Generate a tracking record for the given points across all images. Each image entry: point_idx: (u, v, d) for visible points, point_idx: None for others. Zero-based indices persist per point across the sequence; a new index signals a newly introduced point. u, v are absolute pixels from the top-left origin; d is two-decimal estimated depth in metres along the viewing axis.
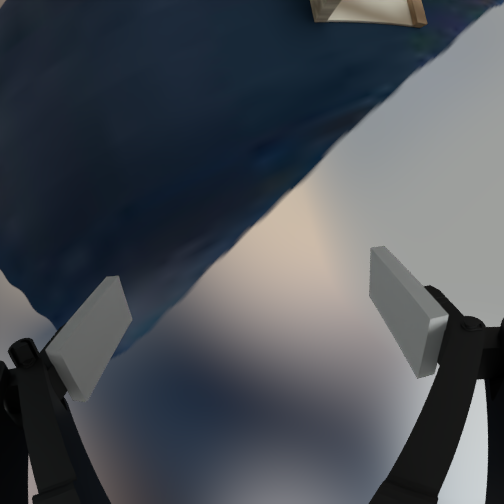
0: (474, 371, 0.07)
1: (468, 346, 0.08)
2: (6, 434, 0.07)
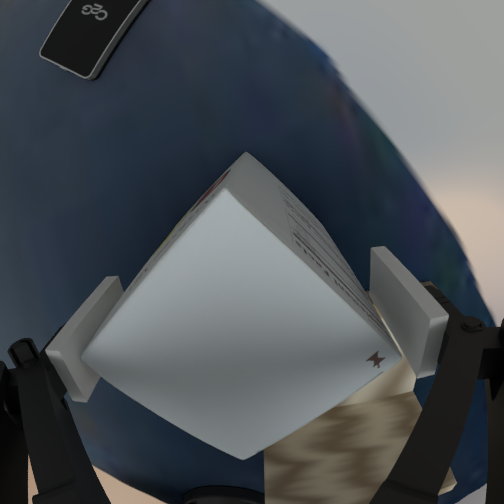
0: (474, 371, 0.07)
1: (468, 347, 0.08)
2: (6, 434, 0.07)
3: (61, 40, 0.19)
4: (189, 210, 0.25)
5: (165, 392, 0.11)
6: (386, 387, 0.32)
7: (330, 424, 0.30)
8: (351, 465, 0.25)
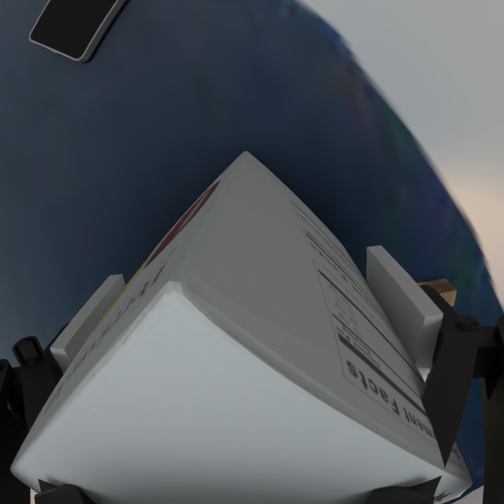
0: (469, 370, 0.07)
1: (463, 346, 0.08)
2: (9, 433, 0.07)
3: (51, 23, 0.16)
4: None
5: None
6: None
7: None
8: None
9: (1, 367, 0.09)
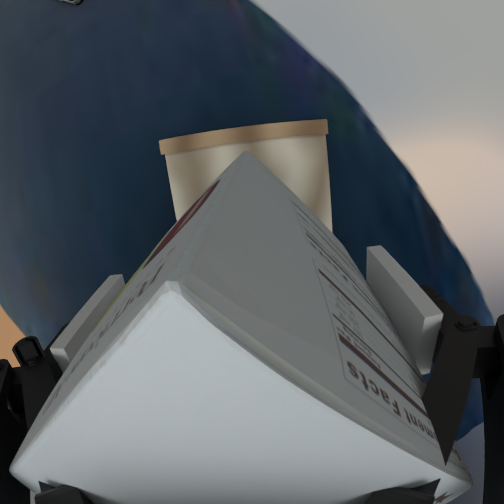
0: (469, 370, 0.07)
1: (463, 346, 0.08)
2: (9, 433, 0.07)
3: None
4: (171, 228, 0.19)
5: None
6: None
7: None
8: None
9: (1, 367, 0.09)
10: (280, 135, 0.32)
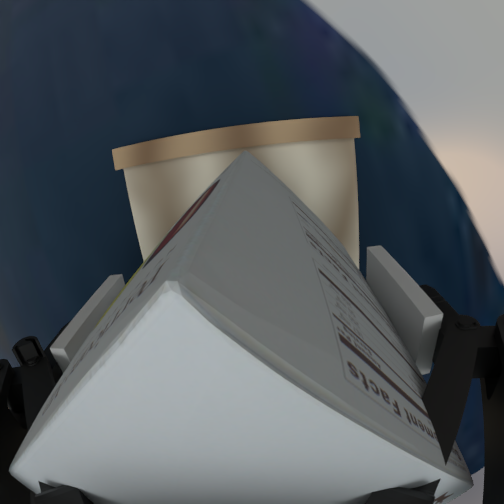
0: (469, 370, 0.07)
1: (462, 345, 0.08)
2: (9, 433, 0.07)
3: None
4: (171, 228, 0.19)
5: None
6: None
7: None
8: None
9: (1, 367, 0.09)
10: (289, 139, 0.21)
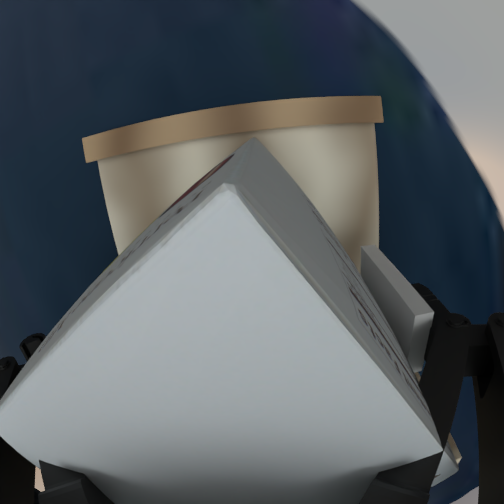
0: (460, 367, 0.07)
1: (453, 343, 0.08)
2: None
3: None
4: None
5: (106, 493, 0.06)
6: None
7: None
8: None
9: (8, 364, 0.09)
10: (297, 122, 0.17)
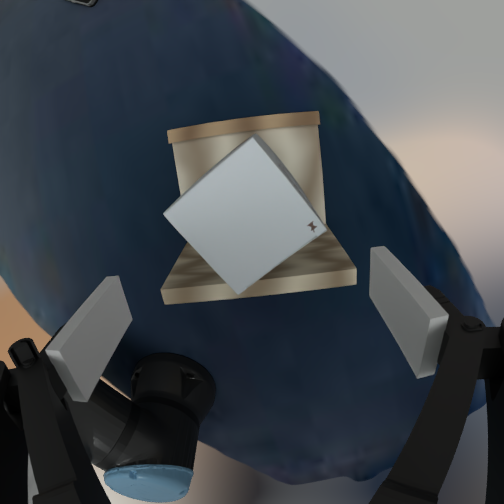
0: (474, 371, 0.07)
1: (468, 347, 0.08)
2: (6, 434, 0.07)
3: None
4: None
5: (207, 234, 0.24)
6: None
7: None
8: None
9: None
10: (276, 125, 0.35)
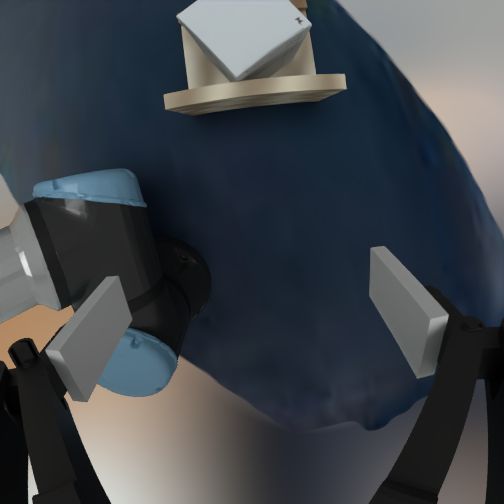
0: (474, 371, 0.07)
1: (468, 346, 0.08)
2: (6, 434, 0.07)
3: None
4: None
5: (211, 26, 0.24)
6: None
7: None
8: None
9: None
10: None
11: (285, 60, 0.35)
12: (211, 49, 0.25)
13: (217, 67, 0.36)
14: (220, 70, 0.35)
